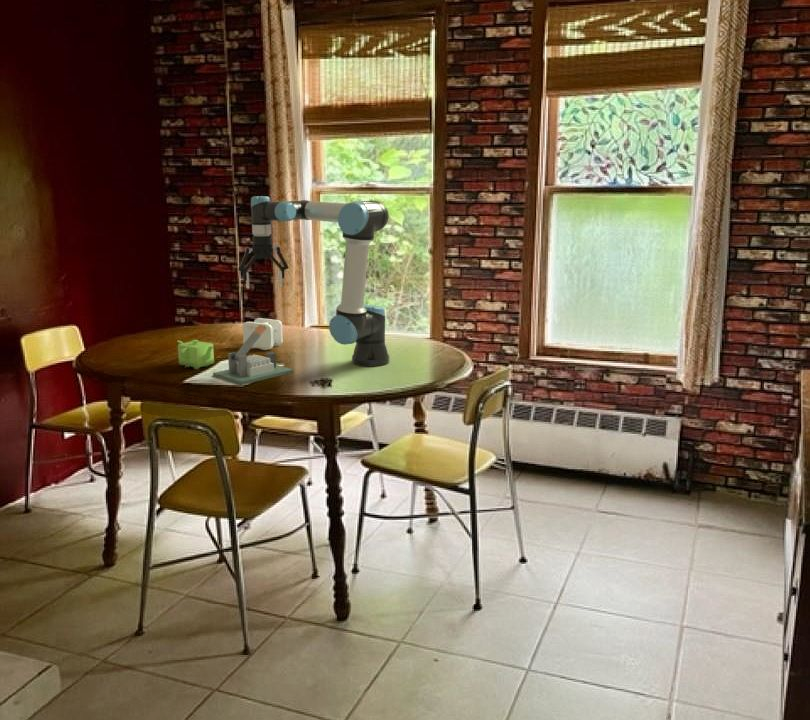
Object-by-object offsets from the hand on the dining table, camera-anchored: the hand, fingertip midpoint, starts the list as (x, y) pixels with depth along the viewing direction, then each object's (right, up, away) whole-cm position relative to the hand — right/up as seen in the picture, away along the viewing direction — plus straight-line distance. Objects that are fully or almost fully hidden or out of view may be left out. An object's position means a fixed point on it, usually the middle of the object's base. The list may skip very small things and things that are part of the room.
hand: (264, 287), depth 323 cm
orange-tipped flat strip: (0, -24, -27) cm, 36 cm away
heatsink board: (0, -35, -24) cm, 43 cm away
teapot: (-24, -33, -13) cm, 43 cm away
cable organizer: (-4, -24, +21) cm, 32 cm away
